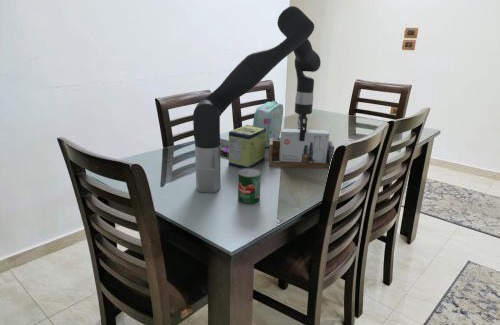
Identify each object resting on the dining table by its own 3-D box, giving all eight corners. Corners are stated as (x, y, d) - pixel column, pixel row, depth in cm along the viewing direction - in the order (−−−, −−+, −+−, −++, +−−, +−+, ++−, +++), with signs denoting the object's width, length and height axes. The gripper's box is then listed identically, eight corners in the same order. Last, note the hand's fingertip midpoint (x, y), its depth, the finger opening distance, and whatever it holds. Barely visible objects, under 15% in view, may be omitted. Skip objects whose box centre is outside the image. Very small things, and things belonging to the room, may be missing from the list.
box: (200, 150, 180) (229, 159, 168) (200, 144, 178) (229, 152, 167) (219, 144, 190) (248, 151, 178) (219, 137, 188) (247, 144, 177)
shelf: (331, 168, 158) (334, 147, 155) (268, 166, 159) (269, 144, 156) (328, 160, 168) (330, 139, 165) (268, 157, 170) (269, 137, 166)
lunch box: (265, 134, 207) (266, 97, 199) (282, 136, 204) (284, 99, 196) (250, 147, 183) (251, 106, 176) (269, 150, 180) (271, 108, 173)
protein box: (265, 160, 167) (266, 127, 161) (248, 170, 154) (248, 135, 149) (246, 155, 172) (246, 124, 166) (228, 165, 159) (228, 131, 154)
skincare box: (279, 165, 161) (281, 131, 155) (278, 161, 166) (280, 128, 160) (326, 167, 160) (329, 133, 154) (324, 163, 165) (327, 129, 159)
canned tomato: (260, 196, 131) (261, 168, 127) (259, 206, 124) (260, 176, 120) (238, 195, 131) (238, 167, 127) (237, 205, 124) (237, 175, 120)
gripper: (314, 105, 147) (311, 143, 153) (310, 99, 161) (307, 134, 166) (296, 105, 148) (293, 142, 153) (294, 98, 161) (291, 133, 167)
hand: (300, 138), depth 160 cm, fingers open, 8 cm apart
